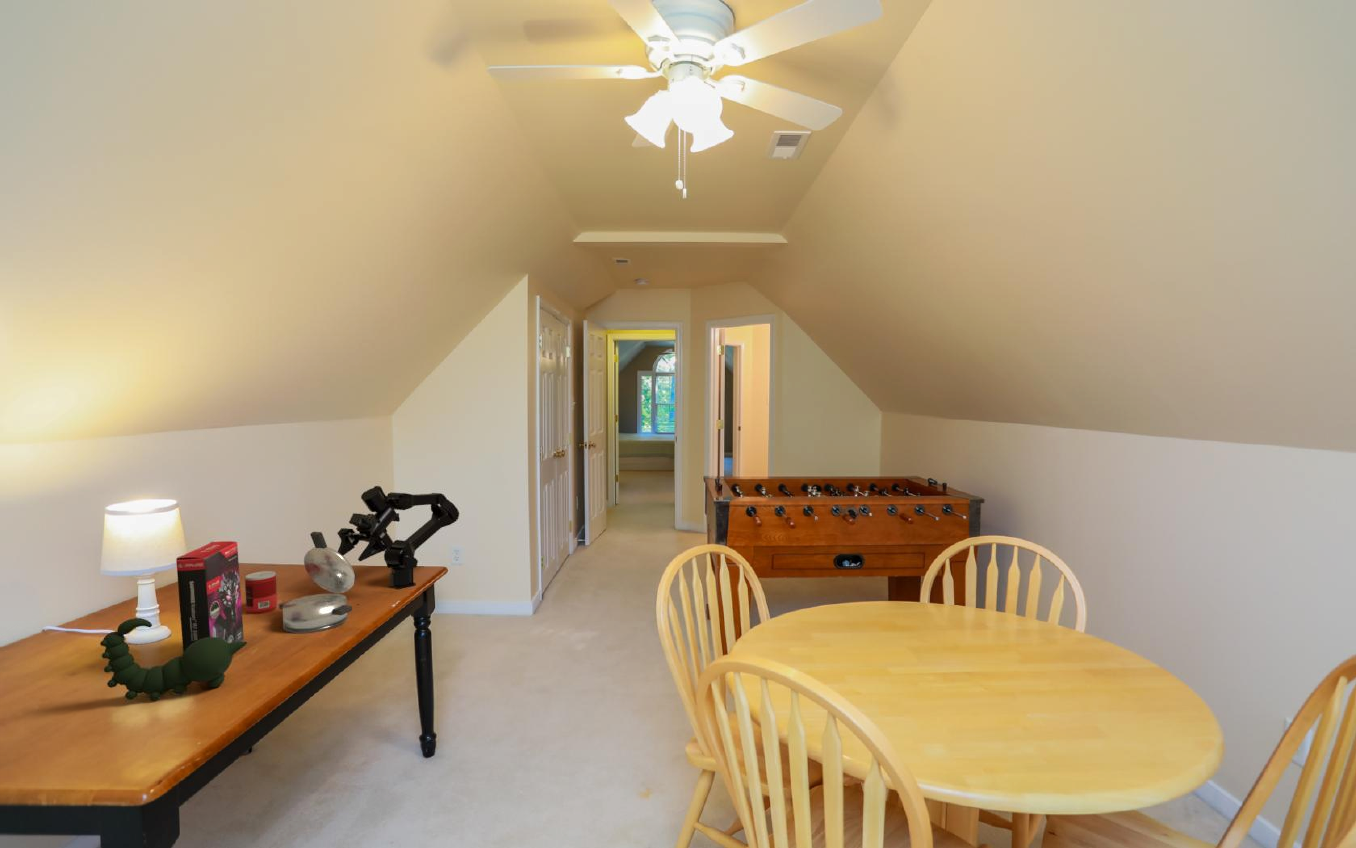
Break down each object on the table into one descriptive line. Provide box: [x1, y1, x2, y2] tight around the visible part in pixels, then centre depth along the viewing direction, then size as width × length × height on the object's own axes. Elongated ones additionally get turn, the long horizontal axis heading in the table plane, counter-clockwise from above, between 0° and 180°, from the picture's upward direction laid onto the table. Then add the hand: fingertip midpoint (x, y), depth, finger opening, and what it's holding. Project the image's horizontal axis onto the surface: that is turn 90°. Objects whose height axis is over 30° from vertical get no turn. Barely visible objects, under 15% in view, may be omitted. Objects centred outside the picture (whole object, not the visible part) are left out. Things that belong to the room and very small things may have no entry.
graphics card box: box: [175, 540, 245, 654], centre depth 163 cm, size 17×7×27 cm, turn 12°
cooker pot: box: [278, 593, 353, 634], centre depth 186 cm, size 16×22×6 cm
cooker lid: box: [303, 531, 356, 594], centre depth 190 cm, size 21×16×3 cm
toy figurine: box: [99, 617, 248, 702], centre depth 143 cm, size 9×19×25 cm
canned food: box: [244, 570, 278, 615], centre depth 197 cm, size 8×8×11 cm
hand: (347, 559), depth 200 cm, fingers open, 9 cm apart
